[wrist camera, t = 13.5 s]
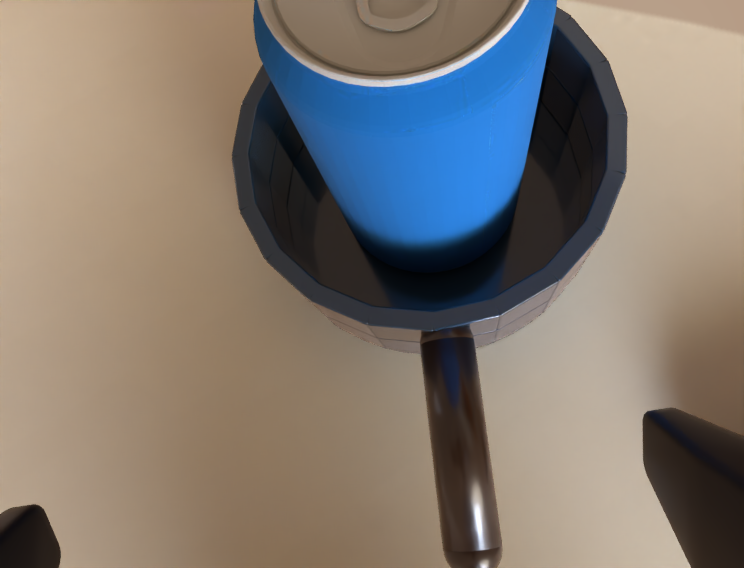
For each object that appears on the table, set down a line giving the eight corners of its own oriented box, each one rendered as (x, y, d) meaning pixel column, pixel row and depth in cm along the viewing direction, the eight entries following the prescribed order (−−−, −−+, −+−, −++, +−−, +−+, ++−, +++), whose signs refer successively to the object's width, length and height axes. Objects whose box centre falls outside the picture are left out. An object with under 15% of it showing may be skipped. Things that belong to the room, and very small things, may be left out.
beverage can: (505, 108, 24) (541, -208, 12) (528, 269, 22) (593, 73, 11) (341, 131, 25) (231, -147, 13) (350, 287, 23) (232, 124, 11)
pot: (640, 113, 24) (684, 28, 19) (521, 410, 21) (537, 398, 17) (355, 27, 26) (331, -66, 22) (226, 280, 24) (167, 239, 20)
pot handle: (419, 324, 19) (415, 313, 18) (470, 318, 19) (470, 307, 18) (447, 574, 17) (445, 587, 16) (505, 570, 17) (508, 582, 16)
